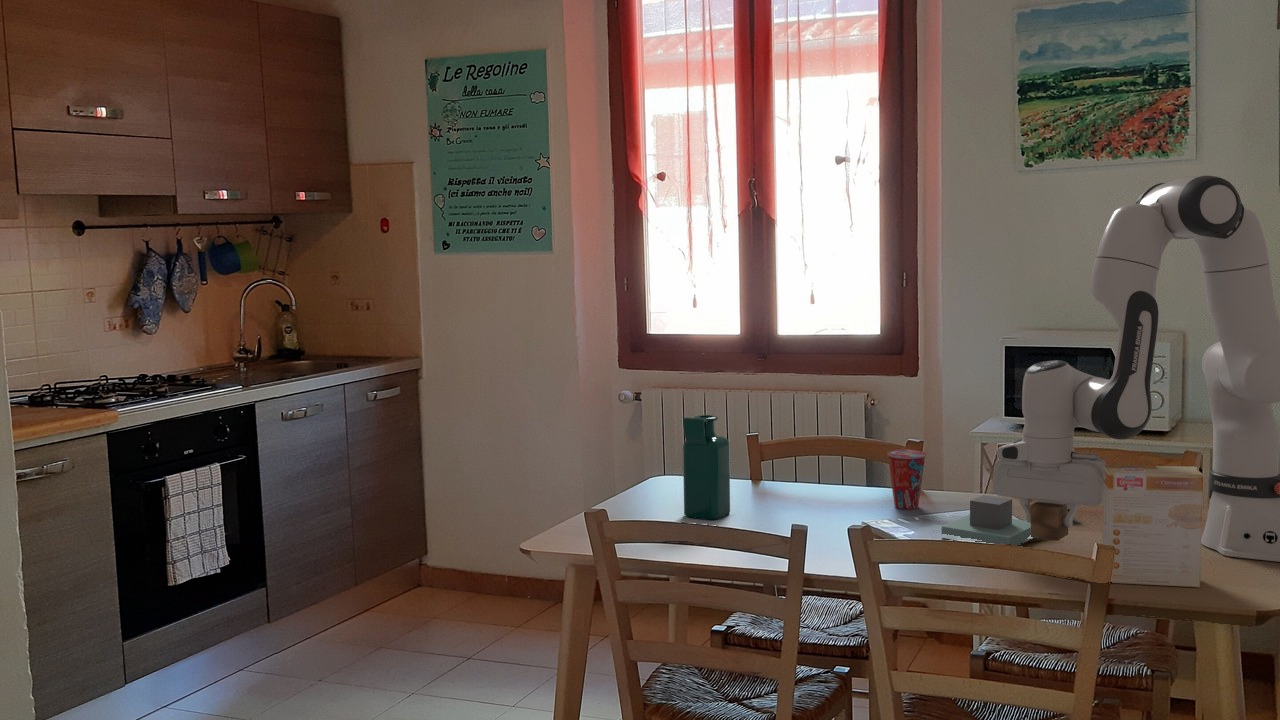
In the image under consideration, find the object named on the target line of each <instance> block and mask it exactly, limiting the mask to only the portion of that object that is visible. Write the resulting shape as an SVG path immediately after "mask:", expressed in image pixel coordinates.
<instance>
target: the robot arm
mask: <svg viewBox="0 0 1280 720" xmlns="http://www.w3.org/2000/svg"><path fill="white" fill-rule="evenodd" d="M1189 239H1193V240H1194V242H1195V243H1196V245H1197V247H1198V249H1199V251H1200V254H1201V268H1202V269H1201V270H1202V278H1203V285H1204V292H1205V299H1206V306H1207V308H1206V309H1207V313H1208V316H1209V317H1210V319H1211V321H1212V323H1213V325H1214V328H1215V330H1216V333H1217V336H1218V339H1219V341H1217V342H1215V343H1213V344H1211V345H1210V346H1209V347H1207V349H1206V351H1205V352H1204V354H1203V355H1202V360H1201V370H1202V373H1203V375H1204V378H1205V381H1206V387H1207V389H1206V390H1207V393H1208V394H1207V395H1208V402H1209V407H1210V415H1211V421H1212V433H1213V435H1212V436H1213V437H1212V469H1210V470H1209V476H1208V485H1207V486H1208V489H1207V490H1208V498H1209V507H1208V512H1207V518H1206V522H1205V526H1204V530H1203V531H1202V537H1201V545H1203V546H1204V547H1207V548H1209V549H1212V550H1215V551H1217V552H1219V553H1220V555H1223V556H1226V557H1230V558H1231V557H1232V558H1233V557H1234V558H1242V559H1249V560H1250V559H1251V560H1261V561H1269V562H1279V563H1280V473H1279V472H1280V471H1279V469H1280V468H1279V467H1280V429H1279V427H1278V425H1277V423H1276V420H1275V415H1274V411H1273V406H1272V404H1275V403H1280V317H1279V315H1278V311H1277V307H1276V303H1275V297H1274V295H1275V294H1274V289H1273V281H1272V275H1271V268H1270V260H1269V253H1268V247H1267V244H1266V240H1265V236H1264V232H1263V229H1262V226H1261V223H1260V220H1259V218H1258V216H1257V215H1256V213H1255V212H1253V211H1252V210H1251V209H1248V208H1246V207H1245V206H1244V204H1243V203H1242V199H1241V197H1240V194H1239V191H1238V189H1236V187H1235V186H1234V185H1233V184H1232V183H1231V182H1230V181H1228V180H1227V179H1225V178H1222V177H1220V176H1214V175H1199V176H1187V177H1180V178H1176V179H1174V180H1172V181H1171V180H1170V181H1166V182H1160V183H1157V184H1154V185H1152V186H1151V187H1149V188H1147V189H1146V190H1145V191H1143V193H1141V195H1139V197H1138V198H1137V199H1136V201H1135V203H1129V204H1124V205H1122V206H1120V207H1118V208H1117V209H1115V211H1113V213H1112V215H1111V217H1110V219H1108V223H1107V225H1106V227H1105V229H1104V231H1103V235H1102V237H1101V238H1100V242H1099V246H1098V248H1097V251H1096V256H1095V258H1094V262H1093V266H1092V270H1091V274H1090V291H1091V294H1092V296H1093V298H1094V300H1095V301H1096V302H1097V304H1098V305H1099V306H1100V307H1101V308H1102V309H1104V311H1106V312H1107V313H1108V314H1109V315H1110V316H1111V317H1112V318H1113V320H1114V321H1115V323H1116V326H1117V331H1118V338H1117V344H1116V345H1117V346H1116V351H1115V358H1114V364H1113V365H1114V366H1113V370H1112V371H1113V373H1112V376H1111V377H1110V379H1107V378H1104V377H1099V376H1094V375H1091V374H1089V373H1086V372H1083V371H1081V370H1078V369H1077V368H1074V367H1073V366H1071V365H1070V364H1069V363H1068V362H1067V361H1064V360H1059V359H1058V360H1057V359H1054V360H1046V361H1040V362H1038V363H1033V365H1031V366H1030V367H1028V368H1027V369H1026V371H1025V372H1024V377H1023V381H1022V390H1021V391H1022V393H1021V395H1022V396H1021V411H1022V415H1023V419H1024V424H1023V425H1024V426H1023V429H1022V439H1019V440H1015V441H1012V442H1009V443H1007V444H1004V445H1001V446H999V447H998V448H997V449H996V456H997V458H998V459H997V461H996V462H995V464H994V467H993V476H992V488H993V489H992V490H993V491H994V493H995V495H997V497H1004V498H1013V499H1014V498H1017V499H1020V500H1019V501H1020V502H1019V503H1020V506H1021V507H1022V509H1023V511H1024V512H1025V514H1026V521H1027V522H1029V523H1031V511H1030V505H1031V503H1032V502H1033V500H1034V501H1039V500H1042V501H1051V502H1060V503H1067V509H1070V511H1069V512H1068V514H1067V516H1066V515H1065V516H1063V517H1061V522H1062V523H1061V526H1062V527H1068V528H1071V527H1072V526H1073V525H1074V524H1073V517H1074V516H1075V514H1076V513H1077V512H1078V509H1079V508H1080V507H1079V506H1088V507H1089V506H1090V507H1100V506H1103V476H1104V465H1107V463H1106V461H1105V460H1104V459H1103V458H1102V457H1101V456H1099V455H1098V454H1096V453H1084V452H1076V451H1075V444H1074V443H1075V441H1074V438H1075V437H1074V434H1075V433H1074V432H1075V429H1076V428H1078V427H1081V428H1084V429H1087V430H1090V431H1093V432H1096V433H1097V432H1098V433H1100V434H1103V435H1105V436H1107V437H1110V438H1112V439H1115V440H1129V439H1131V438H1133V437H1135V436H1137V435H1139V434H1140V433H1141V432H1142V431H1143V430H1144V429H1145V427H1146V426H1147V425H1148V423H1149V421H1150V419H1151V416H1152V407H1153V406H1152V395H1151V378H1152V373H1153V372H1152V371H1153V364H1154V358H1155V357H1154V356H1155V348H1156V342H1157V333H1158V327H1159V305H1158V303H1157V300H1156V289H1157V281H1158V276H1159V273H1160V267H1161V265H1162V264H1161V263H1162V258H1163V254H1164V251H1165V249H1166V248H1167V246H1168V244H1169V243H1171V242H1170V241H1172V240H1189Z"/></svg>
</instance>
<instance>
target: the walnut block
mask: <svg viewBox="0 0 1280 720" xmlns="http://www.w3.org/2000/svg"><path fill="white" fill-rule="evenodd" d="M1030 511H1031V537H1033V539H1043V540H1049V541H1050V540H1051V541H1060V540H1061V539H1063V538H1065V537H1067V536H1068V535H1069V527H1062V526H1061V523H1062V522H1061V517H1063V516H1065V515H1066V516H1067V514H1068V509H1067V503H1060V502H1051V501H1042V500H1037V501H1035V502H1034V503H1032V504H1030Z"/></svg>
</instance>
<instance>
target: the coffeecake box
mask: <svg viewBox="0 0 1280 720" xmlns="http://www.w3.org/2000/svg"><path fill="white" fill-rule="evenodd" d="M1203 487H1204V474H1203V473H1202V472H1201V471H1199V470H1198V468H1197V466H1180V465H1179V466H1176V465H1175V466H1173V465H1171V466H1170V465H1169V466H1167V465H1165V466H1164V465H1134V464H1133V465H1131V464H1130V465H1125V464H1121V465H1120V464H1106V465H1104V476H1103V504H1102V530H1101V532H1102V533H1101V534H1102V537H1101V538H1102V540H1101V544H1105V545H1113V546H1115V560H1114V568H1113V576H1112V583H1111V584H1124V585H1125V584H1127V585H1128V584H1129V585H1142V586H1143V585H1144V586H1145V585H1146V586H1163V587H1164V586H1167V587H1184V588H1186V587H1187V588H1200V587H1201V573H1202V572H1201V571H1202V543H1201V538H1202V535H1203V531H1202V528H1203V497H1204V496H1203V493H1204V492H1203V491H1204V489H1203Z"/></svg>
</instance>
